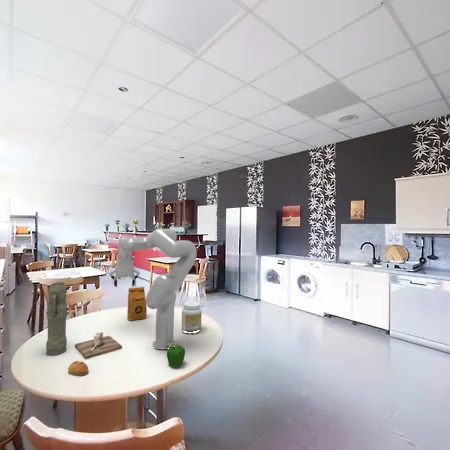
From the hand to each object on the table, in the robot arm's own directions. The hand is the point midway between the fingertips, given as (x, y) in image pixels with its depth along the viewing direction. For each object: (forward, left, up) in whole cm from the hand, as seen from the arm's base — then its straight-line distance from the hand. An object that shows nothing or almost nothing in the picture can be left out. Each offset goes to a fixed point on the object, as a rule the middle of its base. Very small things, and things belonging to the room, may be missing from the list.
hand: (124, 286), depth 167 cm
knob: (-12, +20, -26) cm, 35 cm away
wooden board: (-10, +18, -28) cm, 35 cm away
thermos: (-1, +36, -28) cm, 46 cm away
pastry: (-29, +33, -29) cm, 52 cm away
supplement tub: (-23, -33, -28) cm, 50 cm away
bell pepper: (-52, -3, -28) cm, 59 cm away
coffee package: (+20, -18, -28) cm, 39 cm away
